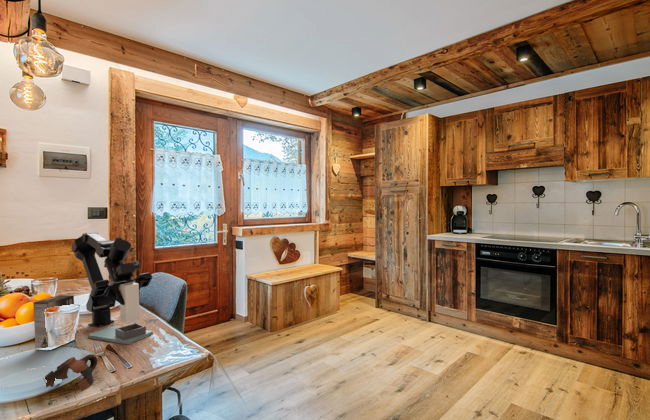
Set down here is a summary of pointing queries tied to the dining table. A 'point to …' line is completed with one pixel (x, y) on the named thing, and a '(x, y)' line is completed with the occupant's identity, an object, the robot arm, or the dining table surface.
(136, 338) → the socket plate
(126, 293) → the block
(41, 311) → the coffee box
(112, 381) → the dining table surface
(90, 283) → the robot arm
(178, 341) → the dining table surface
